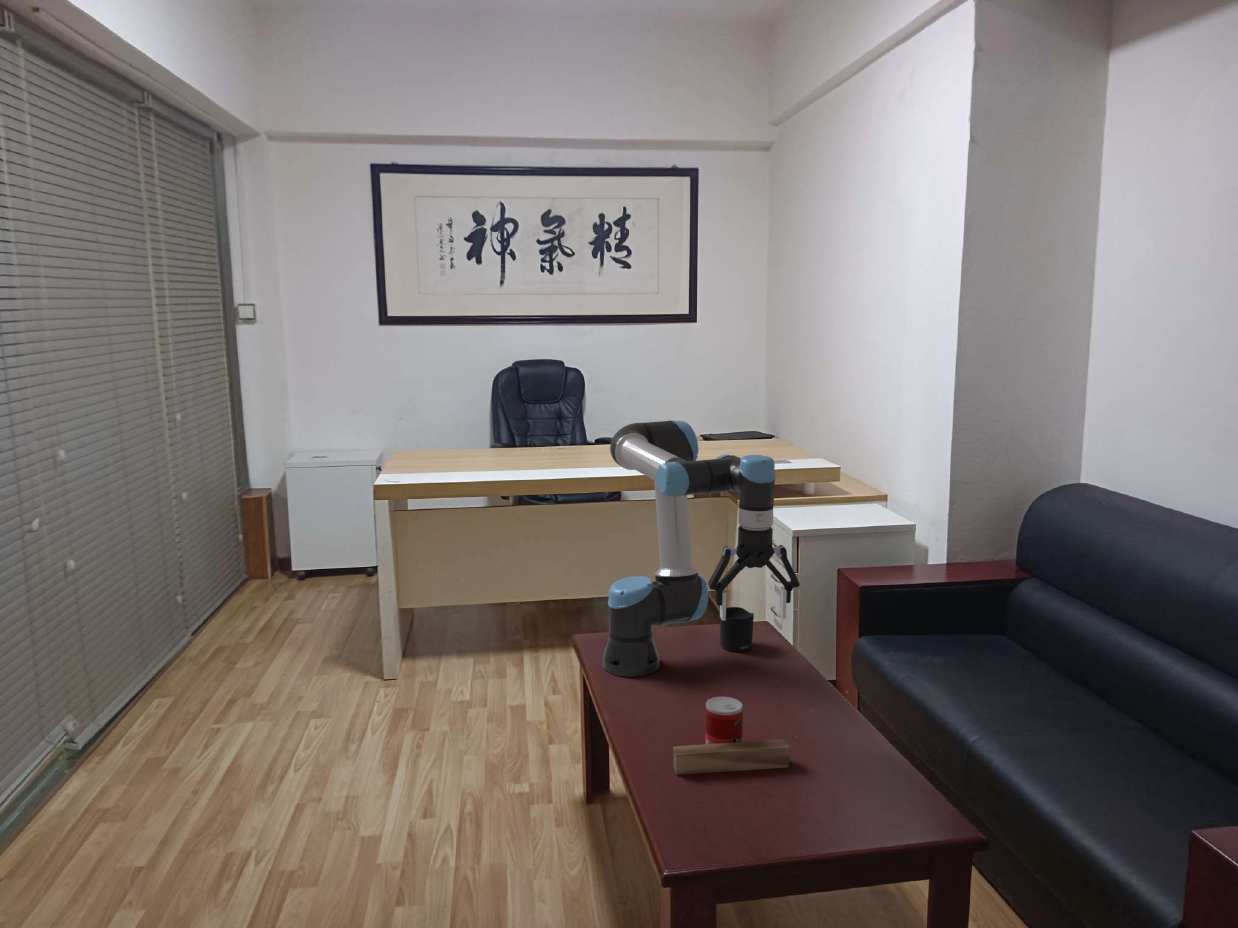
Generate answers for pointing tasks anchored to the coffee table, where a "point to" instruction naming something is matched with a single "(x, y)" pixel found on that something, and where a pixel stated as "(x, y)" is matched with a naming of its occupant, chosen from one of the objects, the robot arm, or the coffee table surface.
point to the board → (730, 756)
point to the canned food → (723, 720)
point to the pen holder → (736, 630)
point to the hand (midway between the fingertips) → (752, 617)
